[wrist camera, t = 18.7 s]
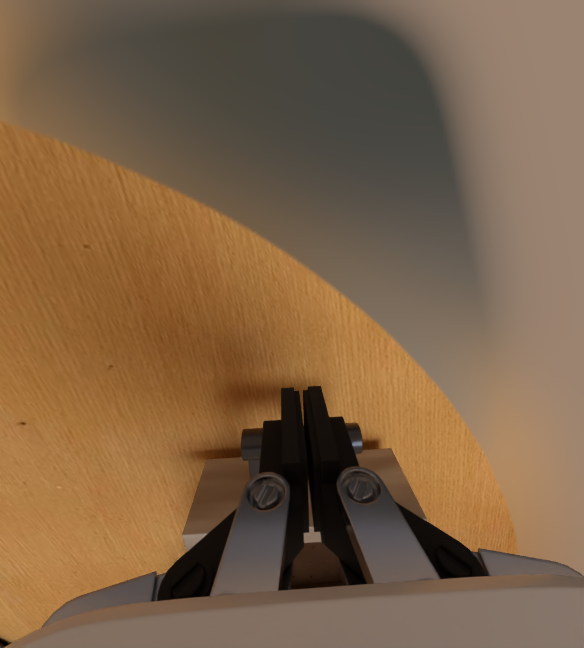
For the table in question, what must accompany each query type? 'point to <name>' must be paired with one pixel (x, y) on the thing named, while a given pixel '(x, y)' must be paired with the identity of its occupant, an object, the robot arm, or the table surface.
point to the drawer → (315, 558)
